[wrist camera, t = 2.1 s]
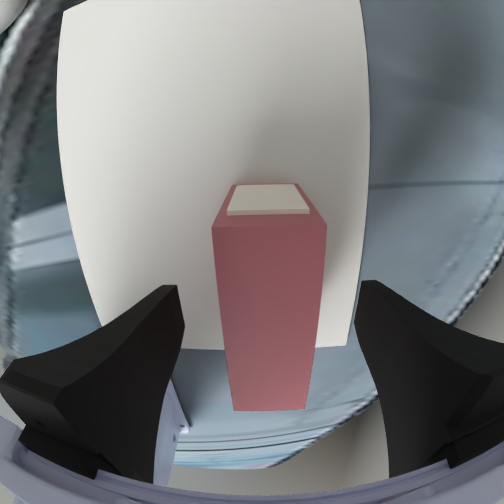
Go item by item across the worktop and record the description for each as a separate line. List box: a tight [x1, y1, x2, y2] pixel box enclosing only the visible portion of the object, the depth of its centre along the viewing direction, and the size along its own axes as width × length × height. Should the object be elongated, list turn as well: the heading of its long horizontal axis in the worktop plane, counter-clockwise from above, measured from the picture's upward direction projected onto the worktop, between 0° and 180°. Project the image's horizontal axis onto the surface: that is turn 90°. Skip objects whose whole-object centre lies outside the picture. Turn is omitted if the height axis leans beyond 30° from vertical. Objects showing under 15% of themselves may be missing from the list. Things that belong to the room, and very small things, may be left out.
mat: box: [57, 0, 370, 350], centre depth 13 cm, size 22×16×1 cm
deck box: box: [211, 183, 327, 411], centre depth 12 cm, size 8×3×6 cm, turn 2°
